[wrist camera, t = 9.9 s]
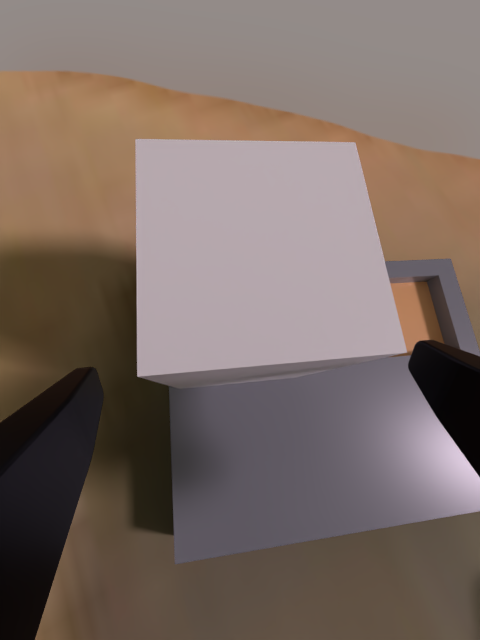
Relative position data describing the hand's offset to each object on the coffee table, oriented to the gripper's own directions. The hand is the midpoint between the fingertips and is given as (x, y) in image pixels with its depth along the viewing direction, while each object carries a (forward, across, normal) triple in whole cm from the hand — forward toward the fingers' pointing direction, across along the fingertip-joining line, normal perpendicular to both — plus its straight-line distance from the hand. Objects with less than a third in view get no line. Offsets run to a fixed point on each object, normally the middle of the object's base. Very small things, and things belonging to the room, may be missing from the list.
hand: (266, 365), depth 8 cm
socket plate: (+6, -5, +7) cm, 11 cm away
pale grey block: (+9, 0, +5) cm, 10 cm away
